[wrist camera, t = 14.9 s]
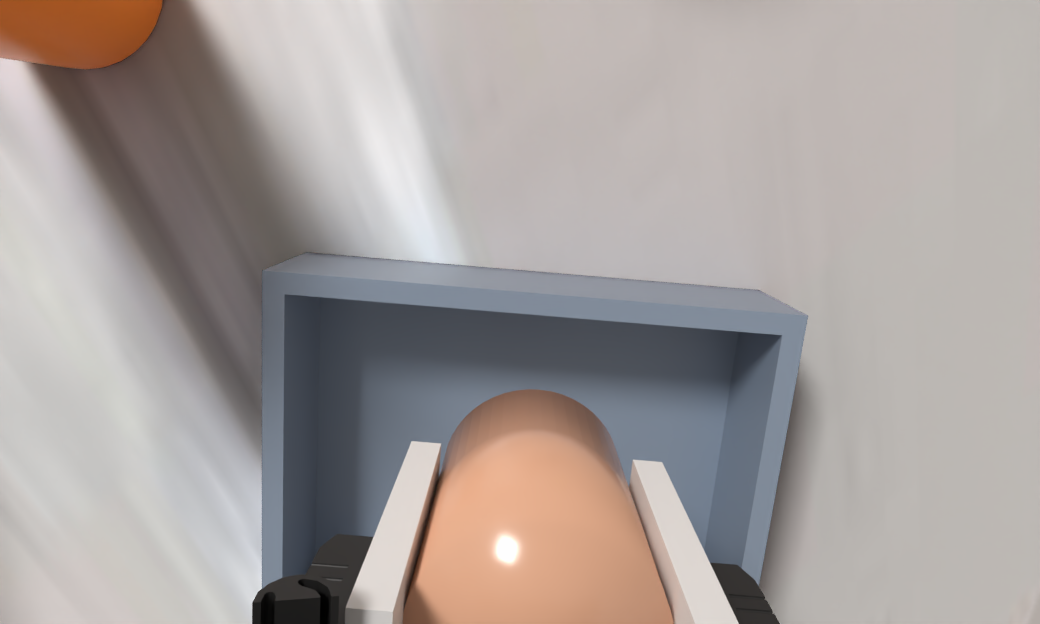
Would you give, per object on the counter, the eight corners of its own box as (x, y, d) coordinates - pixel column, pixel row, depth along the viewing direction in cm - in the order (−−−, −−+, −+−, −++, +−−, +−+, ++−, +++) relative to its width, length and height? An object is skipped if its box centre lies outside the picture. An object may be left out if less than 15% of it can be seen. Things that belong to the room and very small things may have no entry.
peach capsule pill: (437, 544, 19) (391, 751, 12) (449, 381, 18) (406, 509, 11) (608, 559, 19) (655, 771, 13) (629, 397, 18) (693, 533, 12)
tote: (301, 575, 32) (261, 650, 27) (306, 252, 28) (262, 270, 24) (707, 605, 32) (740, 684, 27) (759, 290, 29) (808, 315, 24)
